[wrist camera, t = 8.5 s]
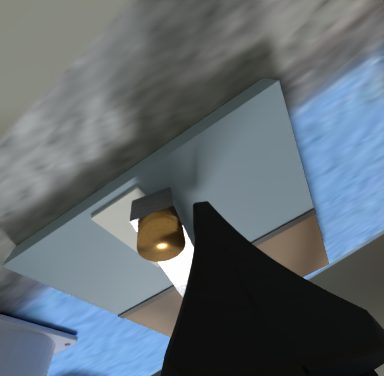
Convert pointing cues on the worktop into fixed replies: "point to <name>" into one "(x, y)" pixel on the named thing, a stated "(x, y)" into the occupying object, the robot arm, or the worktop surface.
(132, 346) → the worktop surface
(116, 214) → the door leaf
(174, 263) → the lock bar
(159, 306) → the jamb board
